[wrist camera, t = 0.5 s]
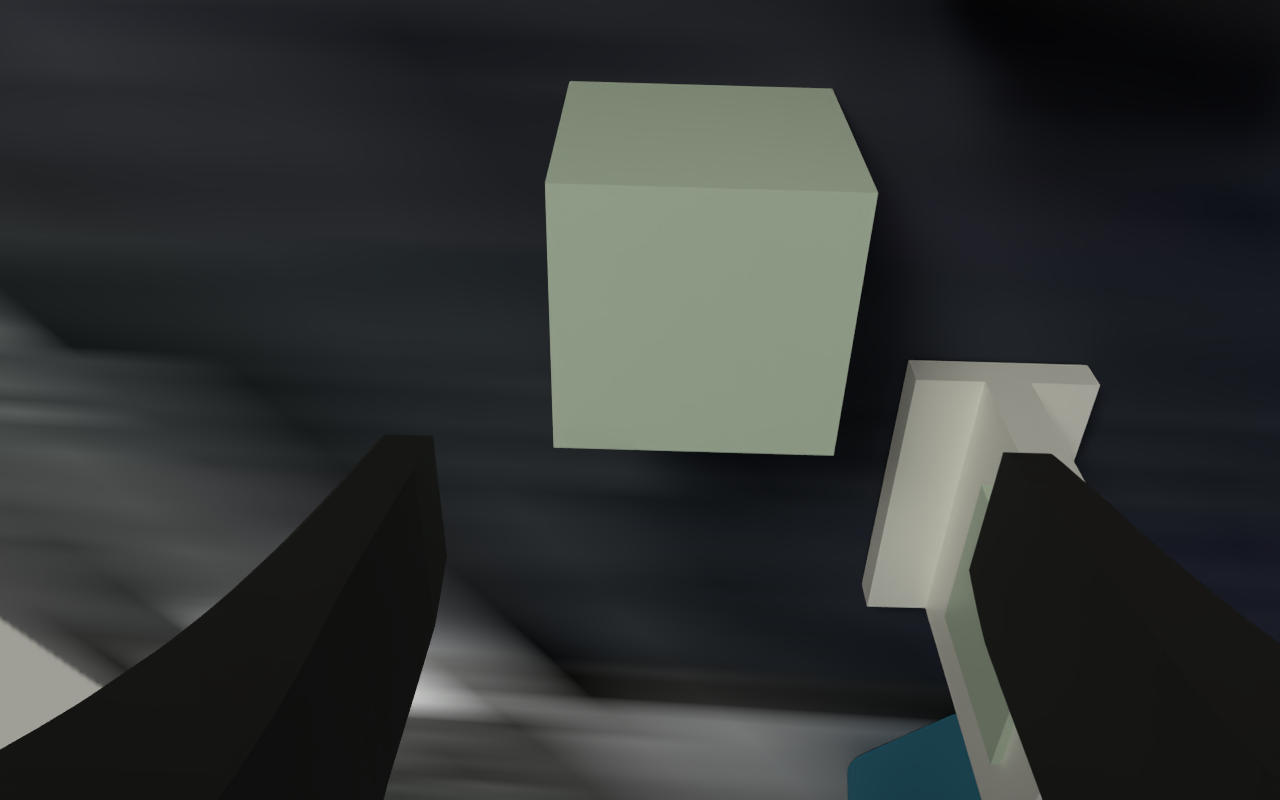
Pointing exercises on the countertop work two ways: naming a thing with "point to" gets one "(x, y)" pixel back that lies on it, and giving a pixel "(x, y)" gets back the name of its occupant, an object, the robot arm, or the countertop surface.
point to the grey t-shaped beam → (966, 523)
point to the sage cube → (703, 267)
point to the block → (916, 767)
